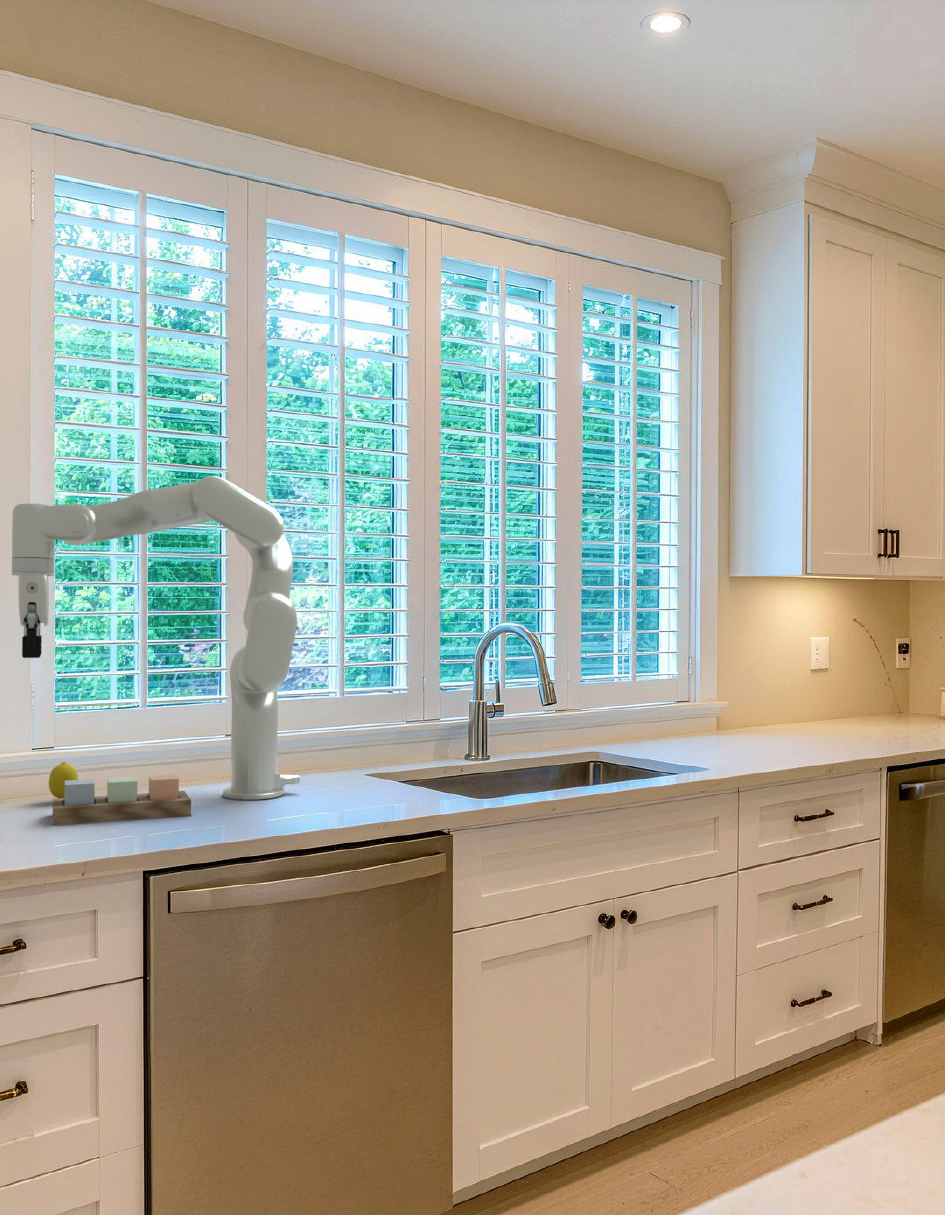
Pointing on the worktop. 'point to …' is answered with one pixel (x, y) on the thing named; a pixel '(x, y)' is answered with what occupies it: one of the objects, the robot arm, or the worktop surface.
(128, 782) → the button sage
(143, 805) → the button board
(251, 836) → the worktop surface
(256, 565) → the robot arm
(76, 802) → the button slate
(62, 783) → the lemon
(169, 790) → the button terracotta
